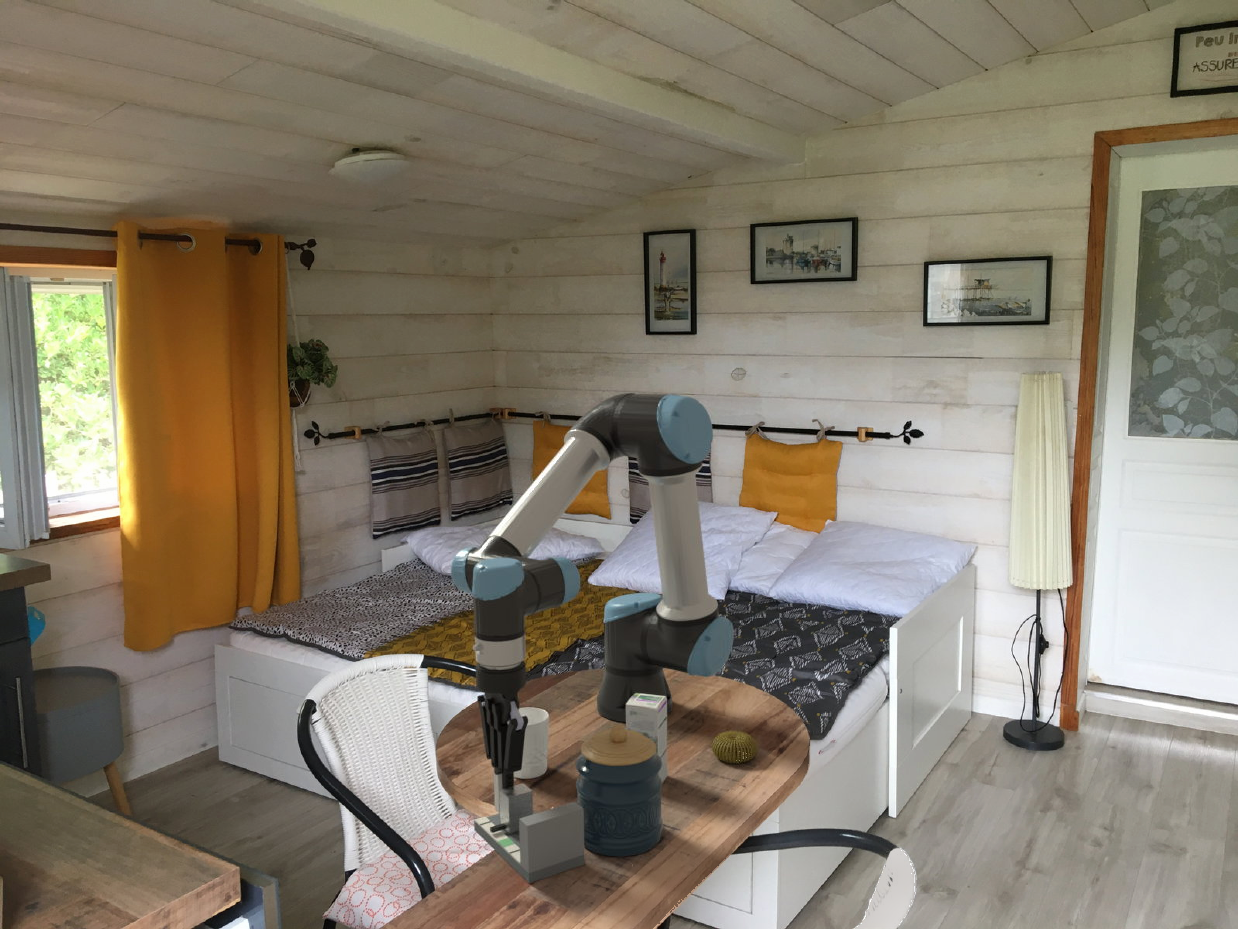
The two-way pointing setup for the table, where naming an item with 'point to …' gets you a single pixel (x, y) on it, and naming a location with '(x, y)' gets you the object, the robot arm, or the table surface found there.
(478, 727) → the table surface
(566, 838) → the gauge base
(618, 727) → the canister
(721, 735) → the green sea urchin shell
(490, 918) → the table surface
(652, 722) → the syrup box
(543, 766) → the white cup
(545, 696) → the table surface
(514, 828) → the block
